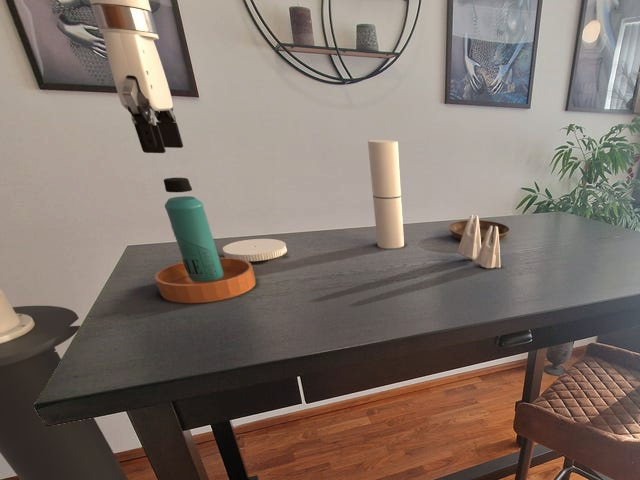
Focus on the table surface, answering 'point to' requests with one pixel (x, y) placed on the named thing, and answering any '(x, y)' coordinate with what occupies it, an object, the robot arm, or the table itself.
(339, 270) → the table surface
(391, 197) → the cylindrical container
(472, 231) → the shaker set
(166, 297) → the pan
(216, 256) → the beverage bottle
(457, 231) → the plant saucer
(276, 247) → the plastic lid
